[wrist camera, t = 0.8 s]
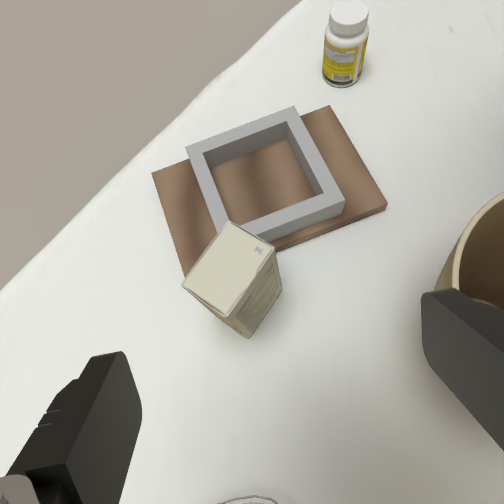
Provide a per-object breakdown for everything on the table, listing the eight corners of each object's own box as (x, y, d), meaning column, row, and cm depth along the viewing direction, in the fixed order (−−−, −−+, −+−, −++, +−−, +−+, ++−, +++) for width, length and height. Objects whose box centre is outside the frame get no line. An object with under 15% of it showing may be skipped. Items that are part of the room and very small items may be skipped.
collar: (294, 124, 44) (293, 105, 41) (341, 214, 39) (345, 199, 36) (192, 163, 43) (185, 147, 41) (228, 258, 39) (222, 247, 36)
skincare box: (249, 267, 40) (230, 214, 28) (284, 289, 39) (278, 243, 27) (212, 318, 38) (177, 284, 27) (247, 342, 37) (226, 318, 26)
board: (328, 114, 46) (329, 105, 44) (384, 209, 40) (387, 203, 39) (155, 180, 45) (151, 173, 44) (190, 286, 40) (186, 282, 38)
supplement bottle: (344, 53, 49) (353, -13, 41) (368, 75, 47) (383, 10, 39) (314, 72, 48) (317, 9, 40) (338, 95, 47) (346, 33, 39)
